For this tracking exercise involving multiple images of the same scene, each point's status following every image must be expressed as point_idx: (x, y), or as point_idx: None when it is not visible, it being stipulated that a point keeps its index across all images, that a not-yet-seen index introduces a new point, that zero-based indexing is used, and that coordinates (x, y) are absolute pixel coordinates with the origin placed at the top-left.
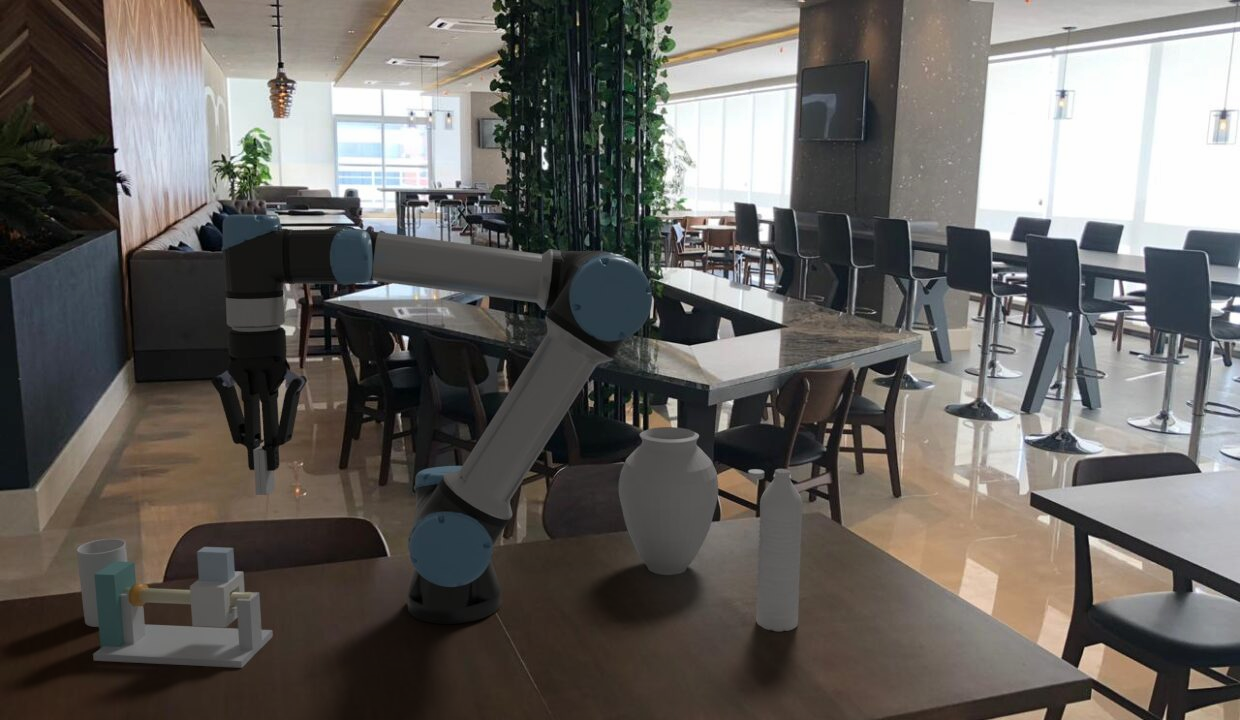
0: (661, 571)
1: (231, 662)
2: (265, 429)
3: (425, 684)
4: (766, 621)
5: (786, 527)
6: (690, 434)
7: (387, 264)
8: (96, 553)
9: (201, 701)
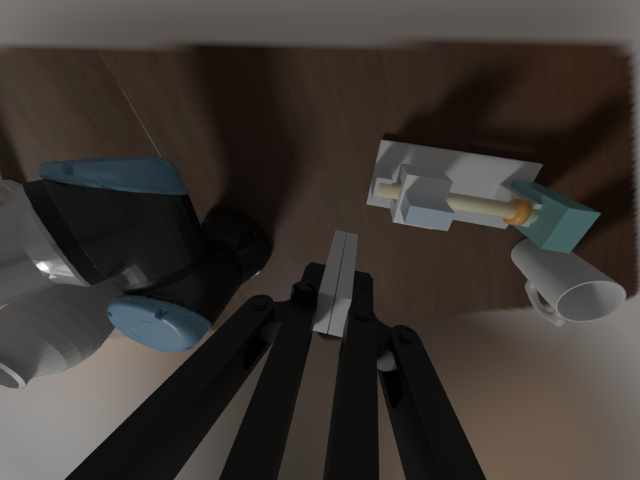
0: None
1: (391, 141)
2: (296, 347)
3: (210, 99)
4: (12, 185)
5: None
6: None
7: None
8: (597, 281)
9: (406, 62)
